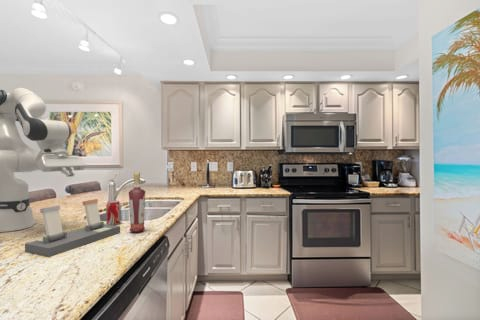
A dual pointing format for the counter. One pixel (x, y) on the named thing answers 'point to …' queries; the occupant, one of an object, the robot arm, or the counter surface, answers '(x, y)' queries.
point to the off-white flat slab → (92, 213)
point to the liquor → (137, 206)
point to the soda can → (113, 212)
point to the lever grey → (52, 222)
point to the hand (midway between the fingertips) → (71, 175)
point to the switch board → (70, 240)
